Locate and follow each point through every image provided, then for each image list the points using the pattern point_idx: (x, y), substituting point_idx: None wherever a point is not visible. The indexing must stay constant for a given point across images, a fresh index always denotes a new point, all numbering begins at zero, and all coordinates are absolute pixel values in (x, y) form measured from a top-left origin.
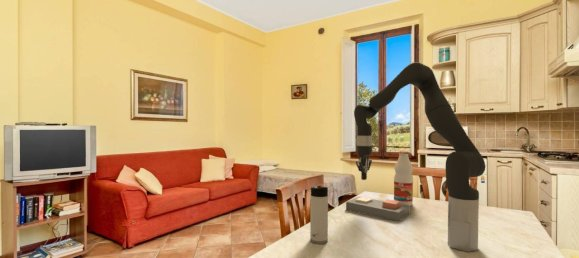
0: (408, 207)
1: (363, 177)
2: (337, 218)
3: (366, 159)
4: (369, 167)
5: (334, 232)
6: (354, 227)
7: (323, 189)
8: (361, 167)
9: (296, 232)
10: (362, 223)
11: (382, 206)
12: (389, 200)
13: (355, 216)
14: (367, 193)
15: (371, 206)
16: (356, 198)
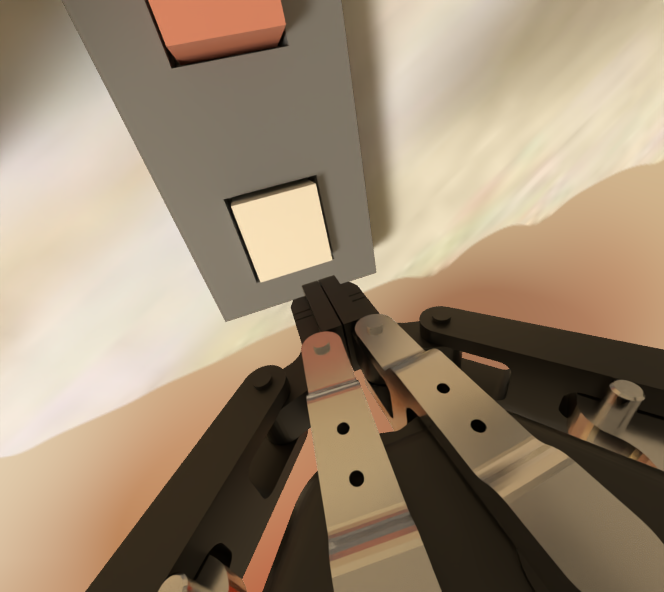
0: None
1: (359, 293)
2: (481, 182)
3: (636, 562)
4: (232, 419)
5: (629, 49)
6: (546, 26)
7: None
8: (547, 334)
9: (661, 151)
10: (478, 39)
11: (280, 37)
12: (181, 1)
13: (409, 152)
14: (6, 447)
15: (344, 105)
16: (275, 299)
